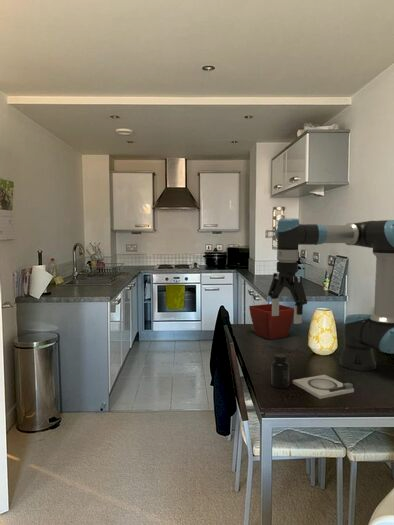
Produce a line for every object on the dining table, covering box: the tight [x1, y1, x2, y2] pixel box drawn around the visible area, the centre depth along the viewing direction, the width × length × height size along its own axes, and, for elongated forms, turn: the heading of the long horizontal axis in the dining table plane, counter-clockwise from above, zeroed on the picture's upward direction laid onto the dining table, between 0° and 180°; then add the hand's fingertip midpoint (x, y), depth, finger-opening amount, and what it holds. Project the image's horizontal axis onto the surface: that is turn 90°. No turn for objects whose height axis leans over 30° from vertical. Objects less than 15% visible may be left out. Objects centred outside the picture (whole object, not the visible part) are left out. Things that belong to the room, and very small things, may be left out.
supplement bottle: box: [270, 353, 290, 389], centre depth 154 cm, size 7×7×12 cm
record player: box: [292, 374, 355, 400], centre depth 152 cm, size 16×16×3 cm
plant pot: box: [248, 303, 294, 340], centre depth 226 cm, size 19×19×17 cm
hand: (286, 319), depth 144 cm, fingers open, 13 cm apart
